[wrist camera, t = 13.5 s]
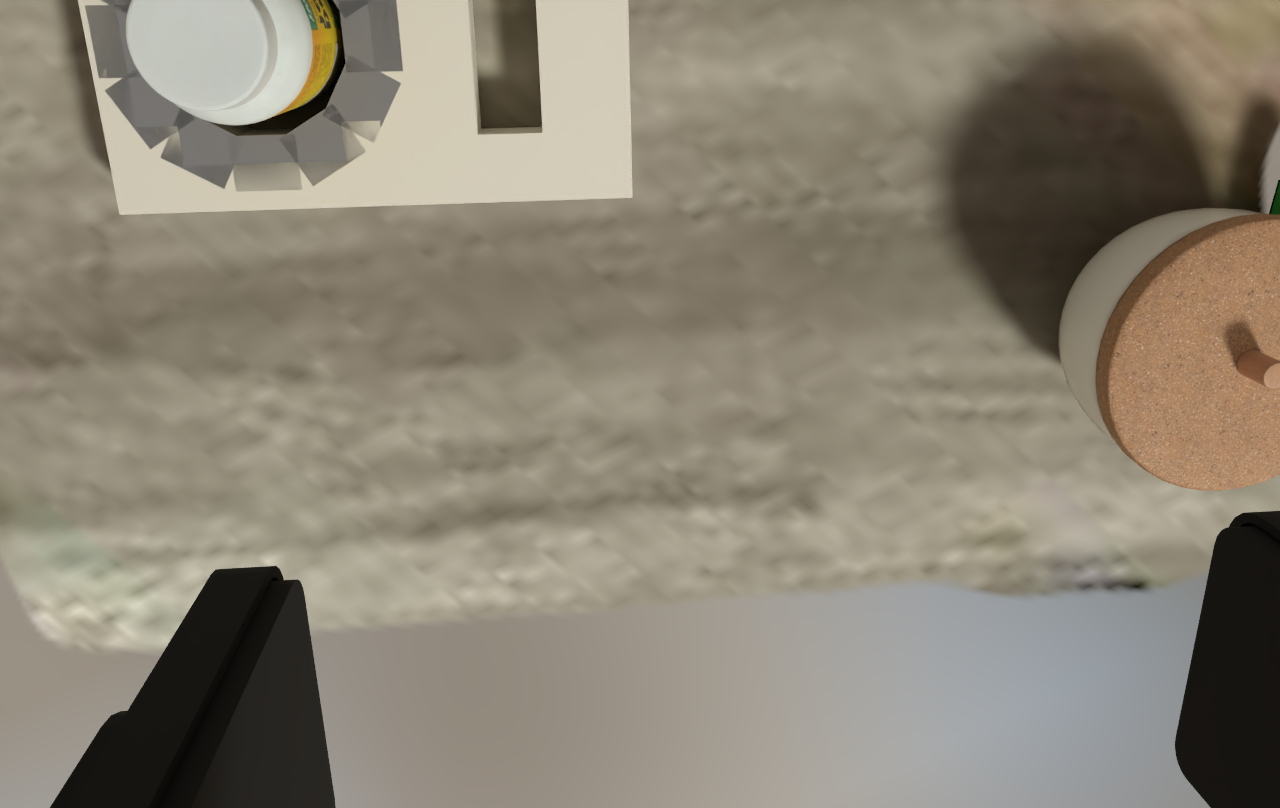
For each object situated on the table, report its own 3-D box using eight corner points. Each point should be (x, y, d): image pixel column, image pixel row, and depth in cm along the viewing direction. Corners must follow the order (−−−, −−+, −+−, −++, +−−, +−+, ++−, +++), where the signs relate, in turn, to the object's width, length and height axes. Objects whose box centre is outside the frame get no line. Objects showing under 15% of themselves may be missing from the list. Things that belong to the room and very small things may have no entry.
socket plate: (619, -144, 37) (624, -156, 35) (627, 187, 42) (632, 197, 39) (80, -140, 36) (48, -151, 34) (144, 203, 40) (119, 214, 38)
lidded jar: (1273, 180, 44) (1454, 219, 35) (1230, 414, 48) (1385, 501, 39) (1030, 191, 43) (1154, 233, 34) (1006, 428, 47) (1113, 520, 38)
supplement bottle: (173, 49, 38) (60, 56, 29) (248, -75, 37) (155, -107, 28) (300, 138, 40) (230, 171, 31) (375, 22, 39) (326, 21, 30)
